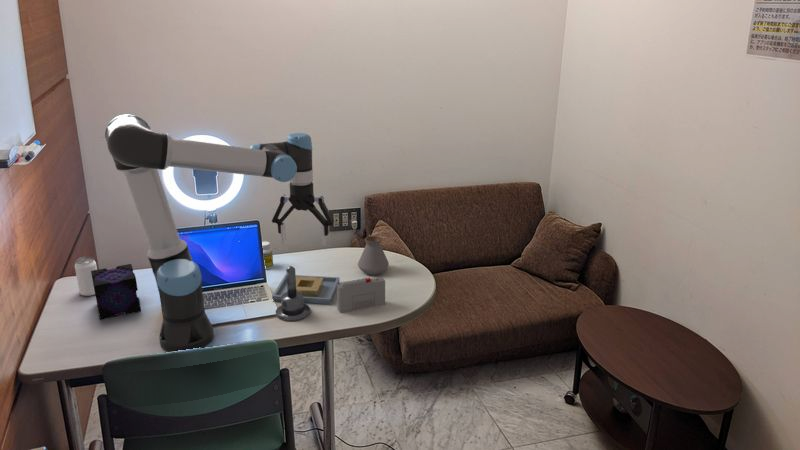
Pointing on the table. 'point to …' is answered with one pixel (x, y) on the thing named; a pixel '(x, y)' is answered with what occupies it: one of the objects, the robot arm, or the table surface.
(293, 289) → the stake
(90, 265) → the can
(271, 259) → the supplement bottle
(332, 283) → the tray
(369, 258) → the coffee pot
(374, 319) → the table surface
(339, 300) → the cassette player
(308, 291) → the ring
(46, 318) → the table surface
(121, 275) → the energy cube
